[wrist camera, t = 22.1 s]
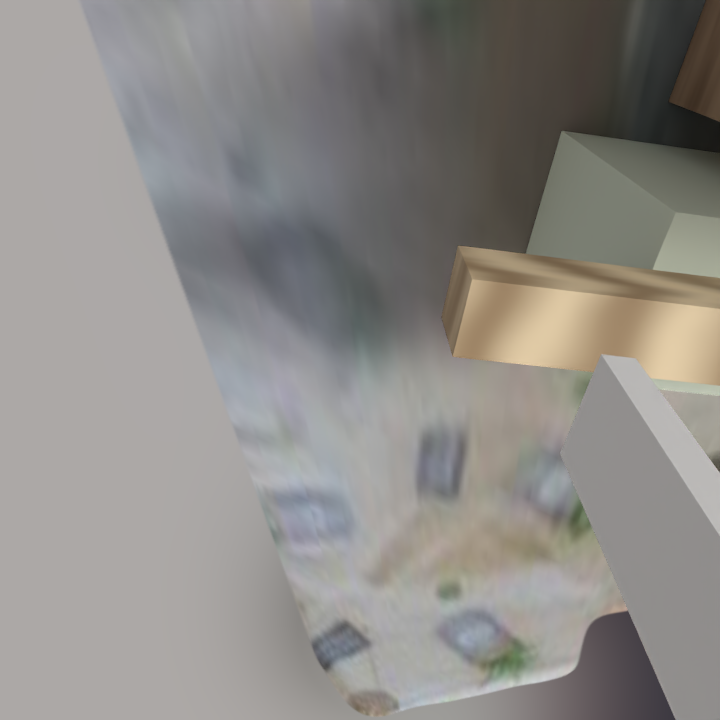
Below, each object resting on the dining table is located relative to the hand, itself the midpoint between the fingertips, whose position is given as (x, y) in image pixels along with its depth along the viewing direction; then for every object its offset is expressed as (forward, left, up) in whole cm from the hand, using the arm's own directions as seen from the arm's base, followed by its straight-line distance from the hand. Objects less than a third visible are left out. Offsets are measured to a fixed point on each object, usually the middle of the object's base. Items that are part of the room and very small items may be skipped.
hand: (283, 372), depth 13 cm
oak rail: (+21, +6, -18) cm, 28 cm away
